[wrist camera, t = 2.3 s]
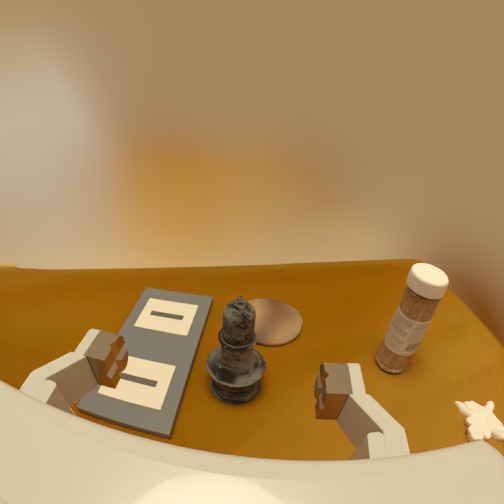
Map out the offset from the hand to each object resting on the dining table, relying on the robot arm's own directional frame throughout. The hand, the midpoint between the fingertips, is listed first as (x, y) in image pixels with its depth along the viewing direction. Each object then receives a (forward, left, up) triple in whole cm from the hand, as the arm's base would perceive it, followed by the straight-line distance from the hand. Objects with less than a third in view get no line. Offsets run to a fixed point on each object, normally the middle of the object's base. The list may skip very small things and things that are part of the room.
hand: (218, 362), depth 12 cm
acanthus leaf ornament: (+30, +6, -18) cm, 36 cm away
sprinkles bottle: (+19, +17, -18) cm, 31 cm away
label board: (-10, +15, -18) cm, 25 cm away
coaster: (+3, +23, -18) cm, 29 cm away
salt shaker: (0, +12, -18) cm, 22 cm away
